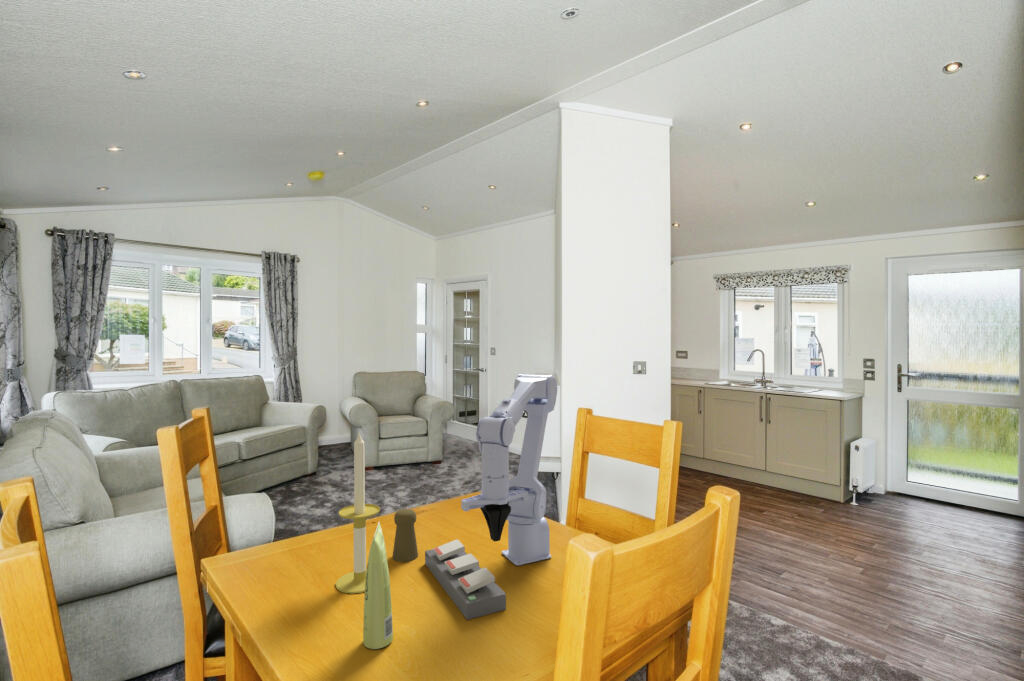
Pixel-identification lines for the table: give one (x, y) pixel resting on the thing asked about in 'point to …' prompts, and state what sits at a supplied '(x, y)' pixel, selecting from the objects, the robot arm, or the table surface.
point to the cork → (405, 536)
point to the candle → (357, 524)
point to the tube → (377, 596)
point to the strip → (471, 603)
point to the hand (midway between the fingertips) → (495, 539)
